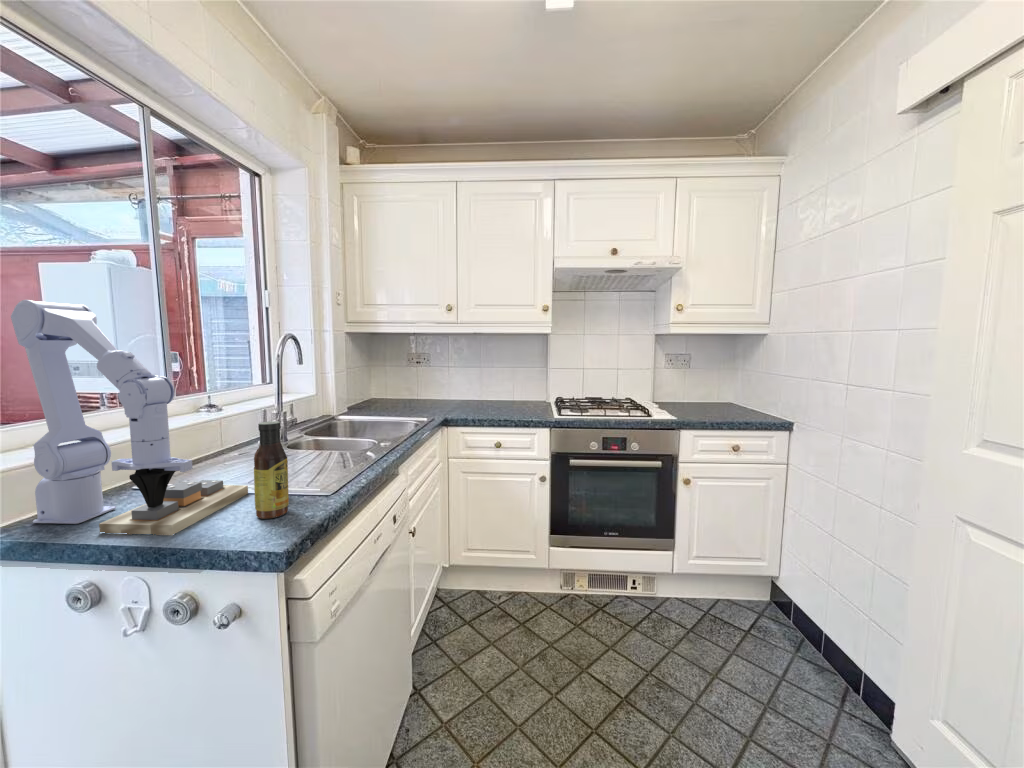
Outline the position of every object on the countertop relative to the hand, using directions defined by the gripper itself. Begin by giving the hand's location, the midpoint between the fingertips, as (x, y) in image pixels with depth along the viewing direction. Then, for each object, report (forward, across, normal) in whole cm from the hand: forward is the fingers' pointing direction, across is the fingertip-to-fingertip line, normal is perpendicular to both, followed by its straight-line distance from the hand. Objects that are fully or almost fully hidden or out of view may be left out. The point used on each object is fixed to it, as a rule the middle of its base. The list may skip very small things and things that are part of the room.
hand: (155, 505), depth 83 cm
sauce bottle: (+4, +20, +6) cm, 21 cm away
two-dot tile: (+2, 0, +6) cm, 7 cm away
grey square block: (+4, 0, 0) cm, 4 cm away
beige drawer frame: (+4, 0, +6) cm, 8 cm away
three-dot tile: (+4, 0, +13) cm, 14 cm away
